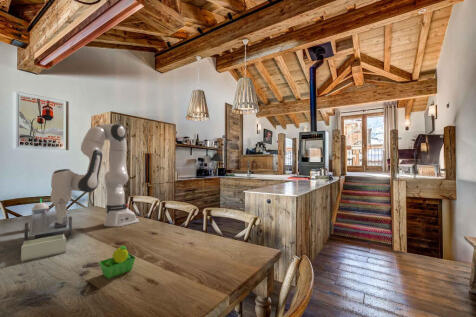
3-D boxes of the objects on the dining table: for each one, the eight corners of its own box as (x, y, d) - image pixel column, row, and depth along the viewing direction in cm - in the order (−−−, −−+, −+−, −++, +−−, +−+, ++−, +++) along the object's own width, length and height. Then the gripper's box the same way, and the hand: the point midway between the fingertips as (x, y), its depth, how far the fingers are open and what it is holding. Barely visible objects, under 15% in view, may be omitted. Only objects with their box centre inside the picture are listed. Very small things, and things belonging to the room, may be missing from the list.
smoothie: (40, 230, 138) (41, 199, 138) (27, 230, 138) (28, 199, 138) (52, 226, 146) (52, 197, 147) (40, 226, 146) (40, 197, 147)
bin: (63, 243, 117) (64, 230, 117) (66, 252, 105) (66, 238, 105) (23, 251, 106) (23, 237, 106) (21, 262, 95) (21, 246, 95)
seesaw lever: (65, 211, 140) (65, 206, 140) (68, 229, 120) (69, 223, 119) (31, 215, 129) (31, 209, 129) (29, 236, 109) (29, 229, 108)
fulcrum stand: (71, 233, 132) (71, 216, 133) (71, 235, 130) (72, 217, 130) (24, 242, 119) (25, 222, 119) (24, 243, 116) (24, 223, 116)
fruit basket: (127, 264, 94) (128, 238, 94) (137, 270, 88) (137, 243, 88) (98, 274, 85) (98, 246, 85) (106, 282, 79) (107, 252, 80)
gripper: (70, 200, 114) (69, 226, 114) (66, 195, 129) (66, 218, 129) (54, 201, 110) (53, 228, 110) (53, 196, 125) (52, 220, 125)
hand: (60, 223), depth 119 cm, fingers closed
